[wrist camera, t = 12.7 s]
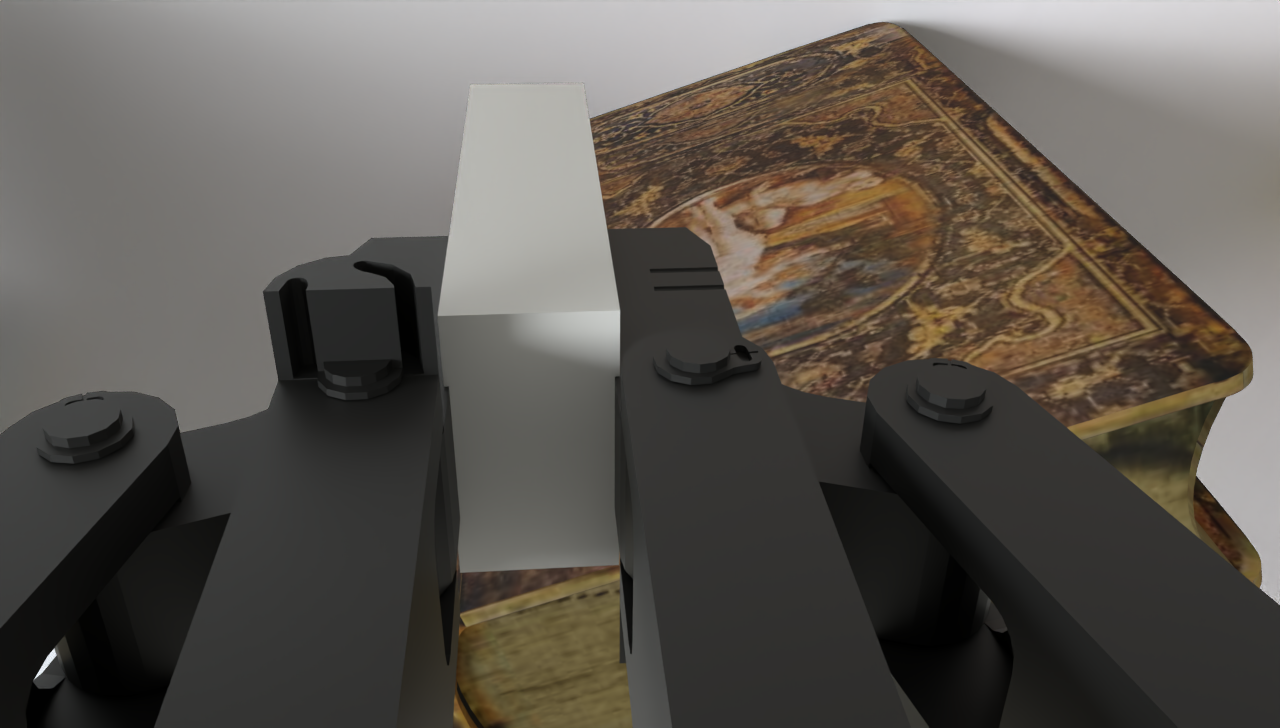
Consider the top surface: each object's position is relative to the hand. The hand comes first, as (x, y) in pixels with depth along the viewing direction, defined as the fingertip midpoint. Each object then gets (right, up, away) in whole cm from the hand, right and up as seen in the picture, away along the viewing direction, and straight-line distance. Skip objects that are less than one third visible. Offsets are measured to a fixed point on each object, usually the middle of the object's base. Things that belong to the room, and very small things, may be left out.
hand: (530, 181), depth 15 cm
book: (+4, +5, +28) cm, 28 cm away
